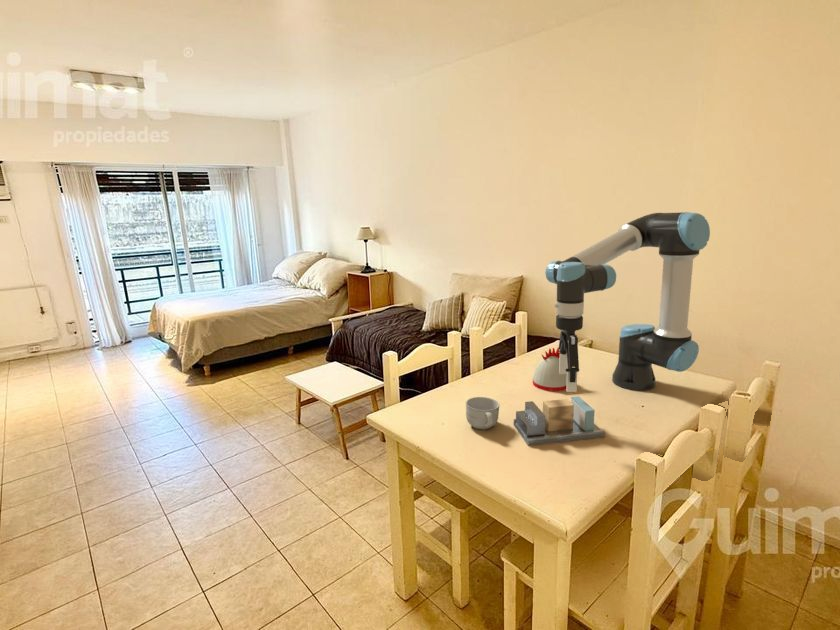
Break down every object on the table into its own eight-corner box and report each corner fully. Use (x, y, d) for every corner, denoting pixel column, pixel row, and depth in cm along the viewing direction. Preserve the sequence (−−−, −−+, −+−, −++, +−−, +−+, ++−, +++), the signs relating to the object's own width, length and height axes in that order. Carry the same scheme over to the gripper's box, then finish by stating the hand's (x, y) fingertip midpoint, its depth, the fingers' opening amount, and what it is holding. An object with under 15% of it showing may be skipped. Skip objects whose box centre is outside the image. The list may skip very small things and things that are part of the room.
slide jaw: (577, 416, 142) (578, 396, 141) (593, 431, 133) (594, 410, 131) (569, 416, 142) (570, 397, 140) (584, 432, 132) (585, 411, 131)
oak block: (566, 421, 139) (567, 398, 137) (572, 428, 135) (573, 405, 133) (542, 424, 138) (543, 401, 136) (548, 431, 134) (548, 407, 132)
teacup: (465, 417, 148) (464, 396, 146) (497, 416, 148) (496, 395, 146) (468, 438, 135) (467, 415, 133) (503, 438, 134) (503, 414, 132)
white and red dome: (575, 389, 166) (577, 352, 163) (541, 393, 165) (542, 355, 161) (559, 376, 180) (560, 341, 176) (527, 379, 178) (528, 344, 174)
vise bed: (583, 417, 144) (583, 411, 144) (604, 437, 132) (604, 431, 131) (513, 424, 142) (513, 418, 141) (527, 445, 129) (528, 439, 129)
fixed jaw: (532, 420, 141) (533, 401, 139) (545, 436, 131) (545, 415, 129) (515, 422, 140) (516, 402, 138) (527, 438, 130) (527, 417, 129)
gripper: (550, 305, 141) (549, 366, 146) (563, 327, 117) (561, 399, 122) (574, 305, 139) (572, 367, 145) (592, 326, 116) (589, 400, 121)
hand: (567, 382), depth 133 cm, fingers open, 13 cm apart
